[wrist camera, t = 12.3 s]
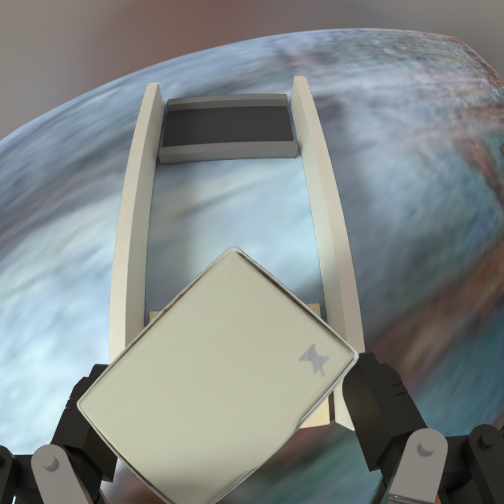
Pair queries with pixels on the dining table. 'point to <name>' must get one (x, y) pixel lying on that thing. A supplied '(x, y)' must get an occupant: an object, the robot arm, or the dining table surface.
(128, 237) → the channel
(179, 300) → the skincare box
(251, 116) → the tray
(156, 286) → the dining table surface
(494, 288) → the dining table surface
